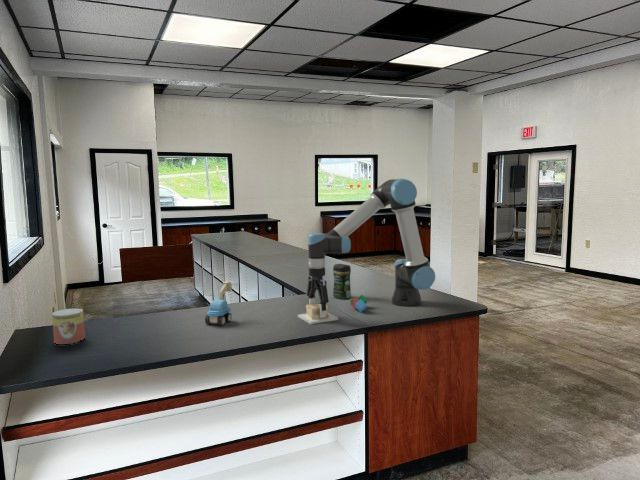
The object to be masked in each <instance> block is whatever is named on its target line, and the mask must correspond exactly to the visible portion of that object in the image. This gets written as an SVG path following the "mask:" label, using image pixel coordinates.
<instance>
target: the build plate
mask: <svg viewBox="0 0 640 480" xmlns="http://www.w3.org/2000/svg"><path fill="white" fill-rule="evenodd" d="M297 318H299V319H301V320H303V321H304V322H306V323H308V324H309V325H315V324H320V323H326V322H327V323H328V322H333V321H339V317H338V316H336V315H333V314H331V313H330V312H329V317H328V318H320V319H311V318H310V317H308V316H307V315H306V313H301V314H297Z"/></svg>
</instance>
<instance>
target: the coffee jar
mask: <svg viewBox="0 0 640 480" xmlns="http://www.w3.org/2000/svg"><path fill="white" fill-rule="evenodd" d="M351 273H352V269H351V265H349V264H343V263H335V264H333V267H332V274H333V290H332V291H333V292H332V293H333V294H332V295H333V298H335V299H340V300H348V299H349V300H350V299H351V297H352V289H351Z"/></svg>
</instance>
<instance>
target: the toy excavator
mask: <svg viewBox="0 0 640 480" xmlns="http://www.w3.org/2000/svg"><path fill="white" fill-rule="evenodd" d="M232 289H233V286H232V283H231V282H230V281H222V287H221V288H220V291H219V299H214V300H213V299H212V300H211V302H210V304H209V310H207V313H206V315H205V317H204V323H205V324H206V325H211V324H217V325H218V326H223V325H225V324H226V322H227V323H228V322H229V323H231V321H232V320H233V319H232V318H233V317H232V312H231V311H232V310H231V307H230V306H228V301H227V300H225V298H226V297H225V293H226V292H232Z"/></svg>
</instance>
